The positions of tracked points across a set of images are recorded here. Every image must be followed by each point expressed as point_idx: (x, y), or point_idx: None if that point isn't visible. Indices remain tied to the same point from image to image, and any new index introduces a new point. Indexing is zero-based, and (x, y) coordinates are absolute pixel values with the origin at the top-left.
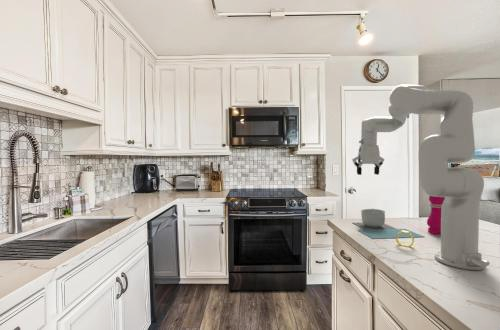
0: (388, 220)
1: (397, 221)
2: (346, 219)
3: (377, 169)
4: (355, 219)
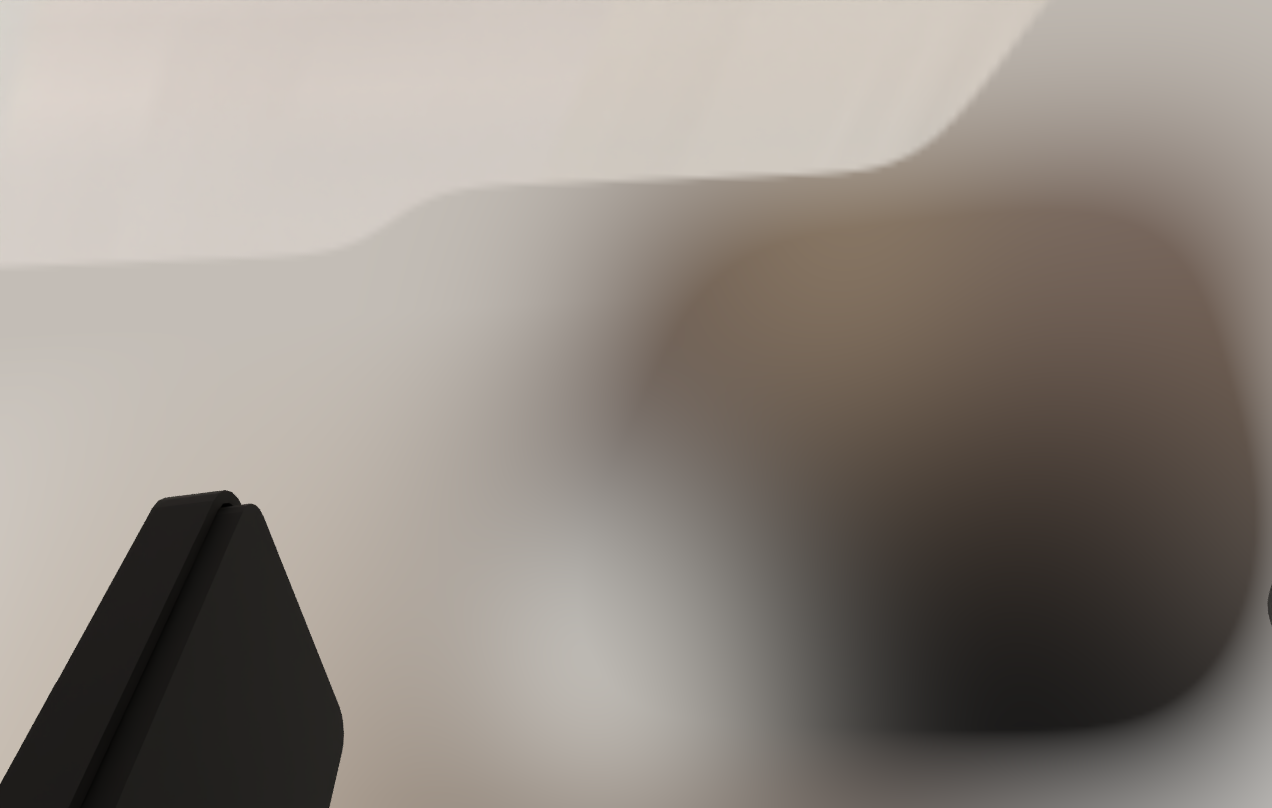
0: (215, 81)
1: (71, 13)
2: (920, 126)
3: (143, 765)
4: (767, 132)
